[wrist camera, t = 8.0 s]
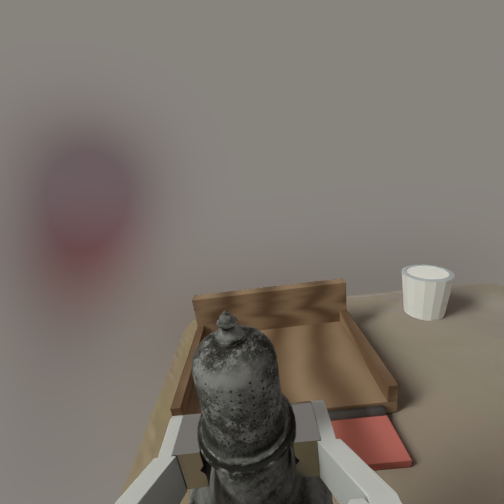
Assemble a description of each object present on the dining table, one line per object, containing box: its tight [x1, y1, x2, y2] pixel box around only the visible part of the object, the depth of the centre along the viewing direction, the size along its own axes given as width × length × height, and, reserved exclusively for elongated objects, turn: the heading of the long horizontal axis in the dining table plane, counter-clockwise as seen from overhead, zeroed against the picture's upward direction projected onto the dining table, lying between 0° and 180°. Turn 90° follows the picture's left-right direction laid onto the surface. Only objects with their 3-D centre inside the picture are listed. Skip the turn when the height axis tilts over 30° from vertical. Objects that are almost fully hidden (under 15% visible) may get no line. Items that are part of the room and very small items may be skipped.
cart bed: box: [171, 279, 412, 470], centre depth 31 cm, size 23×21×8 cm
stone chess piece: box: [189, 310, 333, 504], centre depth 10 cm, size 6×6×12 cm
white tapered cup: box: [402, 264, 455, 321], centre depth 41 cm, size 7×7×7 cm
